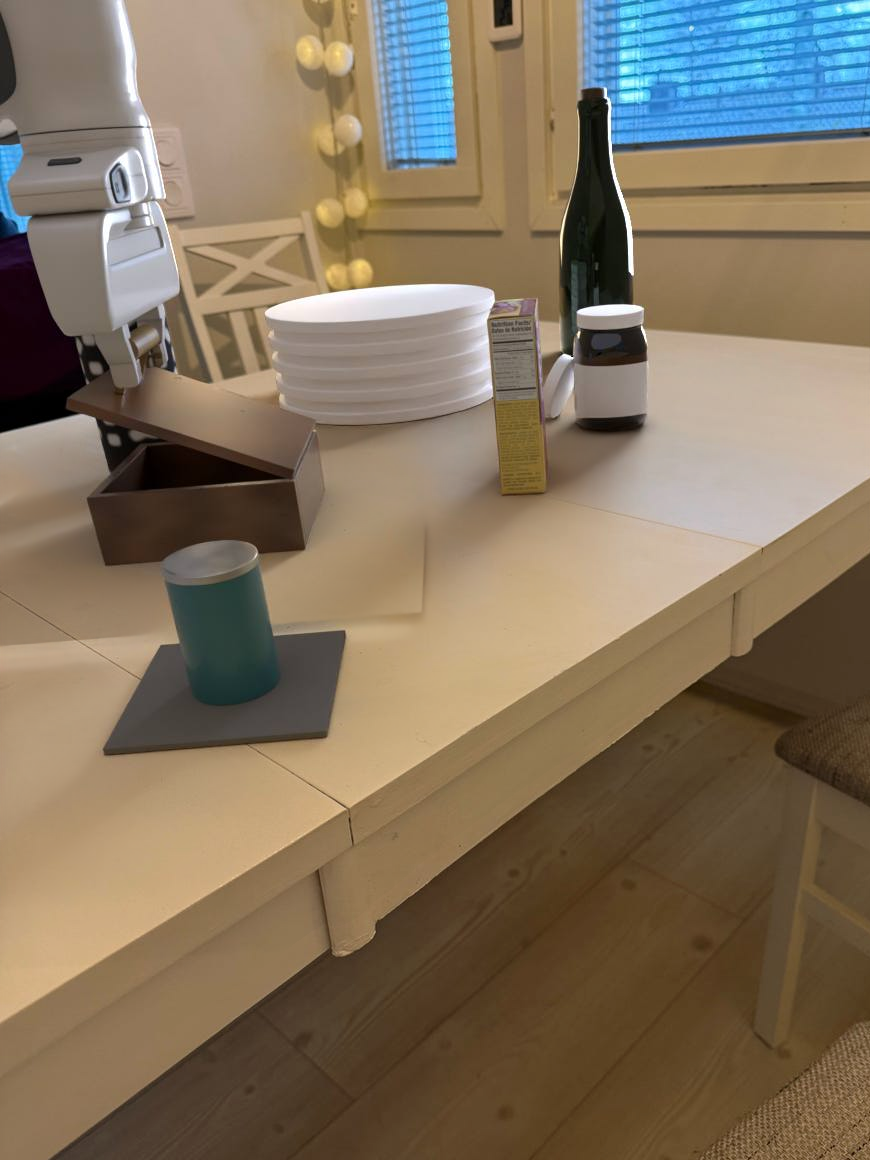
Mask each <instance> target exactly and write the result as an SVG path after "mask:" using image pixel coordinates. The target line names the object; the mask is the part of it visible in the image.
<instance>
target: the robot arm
mask: <svg viewBox="0 0 870 1160" xmlns="http://www.w3.org/2000/svg"><path fill="white" fill-rule="evenodd" d="M131 27H132V26H131V23H130V19H129V14H128V11H127V7H126V3H125V0H0V146H16V145H19V144H20V146H21V147H20V148H21V151H22V154H23V155H22V156H21V157H20V163H19V164H18V167H17V168H16V170H15V171H14V172H13V173H12V175H11V176H10V177H9V179H8V181H7V184H6V185H7V192H8V196H9V200H10V202H11V206H12V209H13V212H14V213H15V215H16V216H18V217H21V218H25V217H29V218H28V220H27V223H26V236H27V241H28V244H29V250H30V252H31V256H32V259H33V263H34V266H35V270H36V273H37V276H38V279H39V283H40V286H41V289H42V291H43V294H44V297H45V300H46V303H47V306H48V309H49V312H50V314H51V317H52V318H53V320H54V322H55V323H56V325H57V326H58V327H59V329H60V330H61V332H62V333H63V334H64V335H65V336H68V337H74V336H80V335H94V337H95V341H96V344H97V346H98V348H99V349H100V351H101V353H102V354H103V356H104V358H105V360H106V361H107V363H108V365H109V366H110V370H111V374H112V378H113V382H114V384H115V386H116V387H118V388H120V389H121V388H134V387H136V386H137V385H138V384H140V383H141V382H142V380H143V375H142V372H141V366H140V362H139V359H135V356H134V354H133V351H132V348H131V345H130V342H129V338H130V332H129V328H128V323H129V322H130V321H132V320H135V321H137V326H138V327H140V326H142V325H151V326H153V327H154V328H155V329H156V330H157V332H158V334H159V342H158V344H157V345H156V346H155V347H153V348H152V349H151V350H149V355H148V361H147V366H146V367H147V368H152V367H161V366H162V365H163V364H165V363H166V362H167V361H168V355H167V351H166V346H165V341H164V340H165V316H164V311H163V306H162V303H163V304H164V303H166V302H168V301H169V300H171V299H173V298H174V297H177V296H178V295H180V287H181V286H180V285H181V284H180V283H181V282H180V274H179V270H178V266H177V262H176V261H177V260H176V257H175V254H174V253H175V252H174V249H173V245H172V242H171V241H172V240H171V237H170V234H169V230H168V226H167V222H166V219H165V216H164V212H163V209H162V207H161V206H160V205H159V202H157V201H163V200H165V199H166V197H167V195H166V192H165V191H166V190H165V187H164V182H163V177H162V172H161V167H160V161H159V158H158V153H157V148H156V147H157V146H156V143H155V139H154V138H155V137H154V134H153V128H152V124H151V121H150V118H149V115H148V113H147V111H146V109H145V107H144V105H143V103H142V99H141V97H140V94H139V89H138V82H137V63H138V59H137V57H138V56H137V51H136V46H135V45H136V44H135V42H134V36H133V32H132V28H131Z"/></svg>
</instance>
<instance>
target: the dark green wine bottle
mask: <svg viewBox="0 0 870 1160" xmlns="http://www.w3.org/2000/svg"><path fill="white" fill-rule="evenodd" d="M607 93H608V92H607V88H606V87H604V86H593V87H592V86H591V87H586V88H581V89H580V92H579V96H580V98H579V100H578V101H577V102H576V103H577V104H576V108H575V109H576V111H575V112H576V117H577V119H576V121H577V145H576V148H577V149H576V162H575V168H574V169H575V170H574V175H573V180H572V184H571V186H570V191H569V194H568V198H567V201H566V204H565V207H564V210H563V214H562V217H561V222H560V228H559V238H558V307H559V309H558V312H559V315H558V316H559V317H558V318H559V319H558V320H559V347H560V351H561V353H563V354H566V355H569V356H573V347H574V339H575V336H576V333H577V331H578V329H579V328H578V326H577V311H578V310H580V309H583V308H588V307H593V306H602V305H635V304H634V255H633V254H634V252H633V250H634V249H633V234H632V233H633V232H632V226H631V225H632V224H631V220H630V215H629V212H628V210H627V206H626V203H625V200H624V198H623V194H622V192H621V189H620V186H619V182H618V180H617V177H616V176H617V175H616V172H615V167H614V163H613V162H614V161H613V153H612V141H611V139H612V138H611V112H612V104H611V99H610V98H609V97H607Z"/></svg>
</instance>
